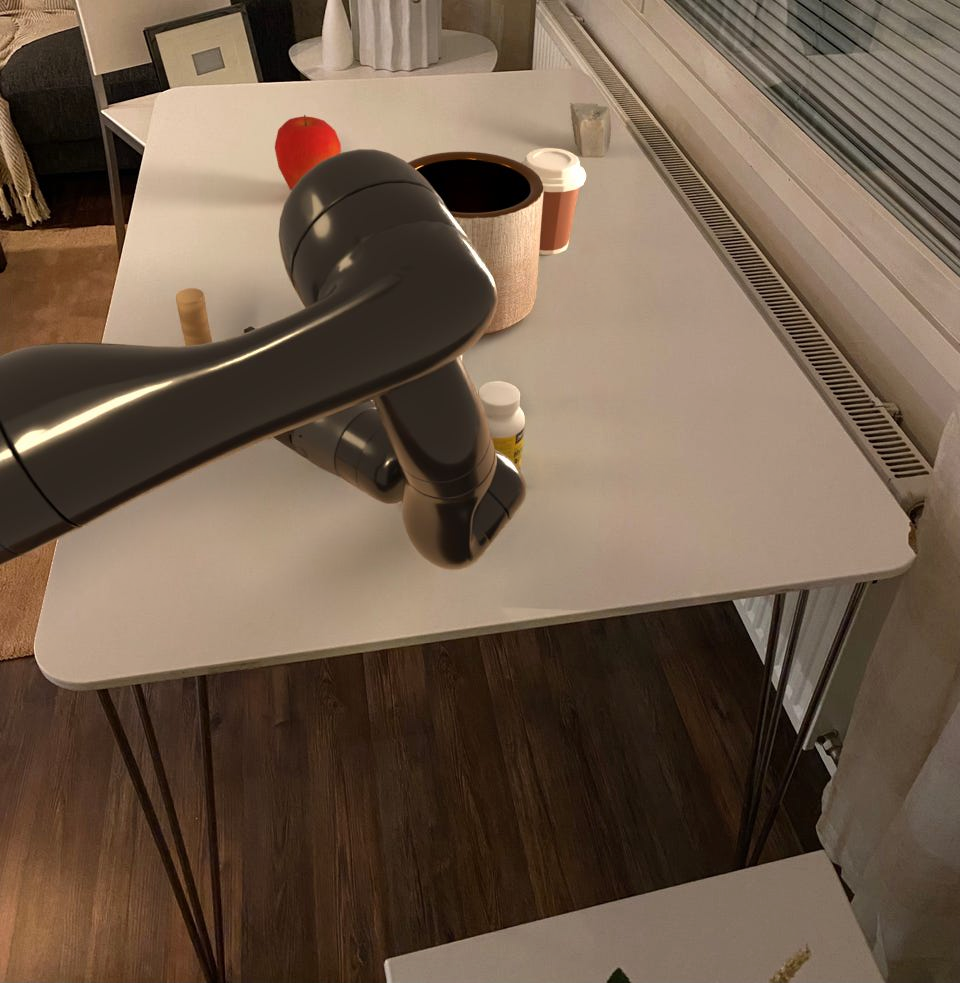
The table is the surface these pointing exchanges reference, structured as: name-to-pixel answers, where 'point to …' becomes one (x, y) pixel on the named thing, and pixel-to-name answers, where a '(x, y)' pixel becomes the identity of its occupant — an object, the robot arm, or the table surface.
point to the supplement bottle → (504, 418)
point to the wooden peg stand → (193, 317)
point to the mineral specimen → (591, 128)
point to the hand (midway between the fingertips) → (212, 353)
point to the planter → (494, 221)
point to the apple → (304, 146)
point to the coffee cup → (556, 195)
